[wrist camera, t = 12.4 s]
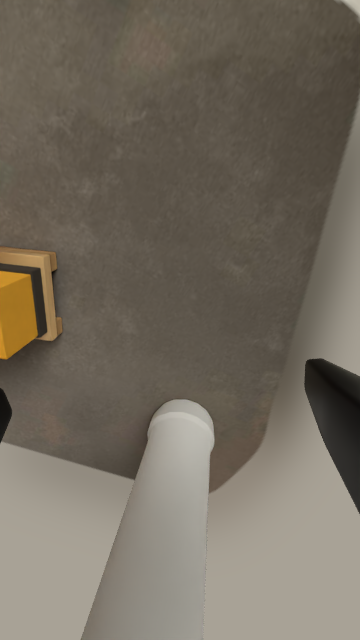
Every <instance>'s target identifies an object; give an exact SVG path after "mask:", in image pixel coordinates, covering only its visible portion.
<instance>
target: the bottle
mask: <svg viewBox="0 0 360 640" xmlns="http://www.w3.org/2000/svg"><path fill="white" fill-rule="evenodd" d="M147 435H148V443H147V446H146V449H145V452H144V455H143V458H142V461H141V464H140V467H139V470H138V473H137V476H136V479H135V482H134V485H133V488H132V491H131V493H130V497H129V500H128V503H127V505H126V508H125V511H124V514H123V517H122V520H121V523H120V526H119V529H118V532H117V535H116V538H115V541H114V544H113V547H112V549H111V552H110V556H109V558H108V561H107V564H106V567H105V570H104V573H103V576H102V579H101V582H100V585H99V588H98V591H97V594H96V597H95V600H94V602H93V605H92V608H91V611H90V614H89V617H88V620H87V623H86V626H85V629H84V632H83V635H82V638H81V640H203V628H204V627H203V626H204V602H205V574H206V548H207V547H206V546H207V522H208V495H209V468H210V453H211V451H212V449H213V446H214V427H213V421H212V419H211V417H210V415H209V414H208V412H207V410H206V409H204V408H203V407H202V406H200V405H199V404H198V403H195V402H192V401H189V400H186V399H174V400H172V401H169V402H166V403H164V404H163V405H162V406H161V407H160V408H159V409H158V410H157V411H156V412H155V414H154V415H153V417H152V420H151V423H150V426H149V429H148V432H147Z"/></svg>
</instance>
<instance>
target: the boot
mask: <svg viewBox="0 0 360 640" xmlns="http://www.w3.org/2000/svg"><path fill="white" fill-rule="evenodd" d="M46 333H47V322H46V313H45V304H44V295H43V285H42V276H41V268H38V267H29V266H21V265H12V264H3V263H0V359H8V358H9V357H11V356H12V355H13V354H15V353H16V352H17V351H18V350H20V349H21V348H22V347H24V346H25V345H26V344H28V343H29V342H30V341H32V340H33V339H34V338H35V337H36V338H41V337H42V336H43V335H44V334H46Z"/></svg>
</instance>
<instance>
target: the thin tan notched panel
mask: <svg viewBox="0 0 360 640" xmlns="http://www.w3.org/2000/svg"><path fill="white" fill-rule="evenodd" d="M0 263H3V264H12V265H21V266H29V267H38V268H41V276H42V285H43V295H44V304H45V313H46V322H47V333H46V334H44V335H43V336H42V337H41V338H36V337H35V338H34V339H40V340H48V341H53V340H54V339H55V338H56V337H57V336H58V335H59V334H60V333H62V331H63V330H62V319H61V318H60V317H55V306H54V296H53V285H52V275H51V272H52V271H54V270H56V269H57V262H56V253H55V252H48V251H39V250H30V249H21V248H12V247H2V246H0Z"/></svg>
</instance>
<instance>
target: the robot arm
mask: <svg viewBox="0 0 360 640" xmlns="http://www.w3.org/2000/svg"><path fill="white" fill-rule="evenodd" d="M304 384H305V391H306V394H307V397H308V400H309V403H310V406H311V408H312V411H313V414H314V417H315V419H316V422H317V425H318V428H319V430H320V433H321V436H322V438H323V441H324V443H325V445H326V447H327V449H328V451H329V453H330V455H331V457H332V460H333V462H334V464H335V465H336V468H337V470H338V471H339V473H340V476H341V477H342V479H343V481H344V484H345V486H346V487H347V490H348V491H349V493H350V495H351V498H352V499H353V502H354V504H355V505H356V507H357V510H358V512H359V514H360V376H358V375H356V374H353V373H351V372H349V371H347V370H345V369H343V368H341V367H339V366H337V365H335V364H333V363H330V362H328V361H326V360H324V359H309V360H307V361H306V365H305V383H304ZM11 416H12V409H11V406H10V404H9V402H8V399H7V397H6V395H5V393H4V391H3V390H2V389H1V388H0V443H1V441H2V438H3V436H4V433H5V431H6V429H7V426H8V424H9V421H10V419H11Z"/></svg>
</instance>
